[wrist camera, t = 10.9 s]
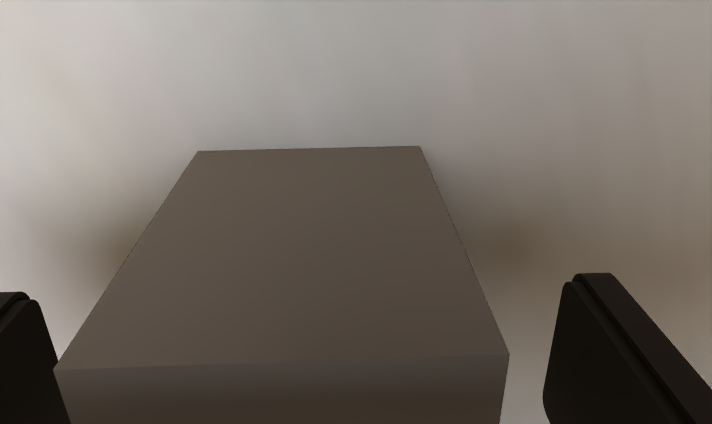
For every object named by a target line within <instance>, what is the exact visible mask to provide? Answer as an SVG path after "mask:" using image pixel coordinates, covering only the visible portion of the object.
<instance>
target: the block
mask: <svg viewBox="0 0 712 424" xmlns="http://www.w3.org/2000/svg"><path fill="white" fill-rule="evenodd" d="M509 355H510V354H509V351H508V349H507V347H506V344H505V342H504V340H503V338H502V335H501V333H500V331H499V328H498V326H497V324H496V321H495V319H494V317H493V315H492V312H491V310H490V308H489V305H488V303H487V301H486V298H485V296H484V294H483V292H482V289H481V287H480V285H479V282H478V280H477V278H476V275H475V273H474V271H473V269H472V266H471V264H470V262H469V259H468V257H467V255H466V252H465V250H464V248H463V246H462V243H461V241H460V239H459V236H458V234H457V232H456V229H455V227H454V225H453V223H452V220H451V218H450V216H449V213H448V211H447V209H446V206H445V204H444V202H443V200H442V197H441V195H440V193H439V190H438V188H437V186H436V183H435V181H434V179H433V177H432V174H431V172H430V170H429V167H428V165H427V163H426V160H425V158H424V156H423V154H422V151H421V149H420V147H419V146H397V147H353V148H310V149H266V150H222V151H198V152H197V153H196V155H195V156H194V158H193V159H192V161H191V162H190V164H189V165H188V167H187V168H186V170H185V171H184V173H183V174H182V176H181V177H180V179H179V180H178V182H177V183H176V185H175V186H174V188H173V189H172V191H171V192H170V194H169V195H168V197H167V198H166V200H165V201H164V203H163V204H162V206H161V207H160V209H159V210H158V212H157V213H156V215H155V216H154V218H153V219H152V221H151V222H150V224H149V225H148V227H147V228H146V230H145V232H144V233H143V235H142V236H141V238H140V239H139V241H138V242H137V244H136V245H135V247H134V248H133V250H132V251H131V253H130V254H129V256H128V257H127V259H126V260H125V262H124V263H123V265H122V266H121V268H120V269H119V271H118V272H117V274H116V275H115V277H114V278H113V280H112V281H111V283H110V284H109V286H108V287H107V289H106V290H105V292H104V293H103V295H102V296H101V298H100V299H99V301H98V302H97V304H96V305H95V307H94V309H93V310H92V312H91V313H90V315H89V316H88V318H87V319H86V321H85V322H84V324H83V325H82V327H81V328H80V330H79V331H78V333H77V334H76V336H75V337H74V339H73V340H72V342H71V343H70V345H69V346H68V348H67V349H66V351H65V352H64V354H63V355H62V357H61V358H60V360H59V361H58V363H57V364H56V366H55V367H54V369H53V372H54V375H55V378H56V380H57V383H58V386H59V389H60V392H61V395H62V398H63V401H64V404H65V407H66V410H67V413H68V416H69V419H70V422H71V424H499V422H500V416H501V409H502V402H503V395H504V389H505V382H506V375H507V369H508V362H509Z"/></svg>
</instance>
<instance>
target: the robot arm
mask: <svg viewBox="0 0 712 424" xmlns="http://www.w3.org/2000/svg"><path fill="white" fill-rule="evenodd" d="M57 363H58V359H57V356H56V353H55V350H54V347H53V344H52V341H51V338H50V335H49V332H48V329H47V326H46V323H45V320H44V317H43V314H42V311H41V308H40V306H39V303H38V302H37V301H36V300H30V298H29V296H28V295H27V294H26V293H24V292H0V424H71V422H70V419H69V416H68V413H67V410H66V407H65V404H64V401H63V398H62V395H61V392H60V389H59V386H58V383H57V380H56V378H55V375H54V372H53V369H54V367H55V366H56V364H57ZM543 405H544V409H545V412H546V415H547V417H548V419H549V422H550V424H712V389H711V388H710V387H709V386H708V385H707V384H706V382H705V381H704V380H703V379H702V378H701V377H700V375H699V374H698V373H697V372H696V371H695V370H694V368H693V367H692V366H691V365H690V364H689V363H688V361H687V360H686V359H685V358H684V357H683V356H682V354H681V353H680V352H679V351H678V350H677V349H676V347H675V346H674V345H673V344H672V343H671V342H670V340H669V339H668V338H667V337H666V336H665V335H664V333H663V332H662V331H661V330H660V329H659V328H658V326H657V325H656V324H655V323H654V322H653V321H652V319H651V318H650V317H649V316H648V315H647V314H646V312H645V311H644V310H643V309H642V308H641V307H640V305H639V304H638V303H637V302H636V301H635V300H634V298H633V297H632V296H631V295H630V294H629V293H628V291H627V290H626V289H625V288H624V287H623V286H622V285H621V283H620V282H619V281H618V280H617V279H616V278H615V276H613V275H612V274H611V273H579V274H576V275H575V276H574V278H573V279H572V282H566V283H565V284H564V286H563V289H562V294H561V299H560V305H559V310H558V315H557V320H556V326H555V331H554V336H553V342H552V347H551V352H550V357H549V363H548V368H547V373H546V378H545V384H544V389H543Z"/></svg>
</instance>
